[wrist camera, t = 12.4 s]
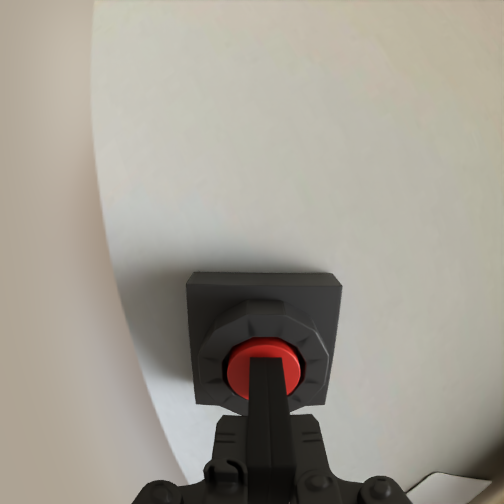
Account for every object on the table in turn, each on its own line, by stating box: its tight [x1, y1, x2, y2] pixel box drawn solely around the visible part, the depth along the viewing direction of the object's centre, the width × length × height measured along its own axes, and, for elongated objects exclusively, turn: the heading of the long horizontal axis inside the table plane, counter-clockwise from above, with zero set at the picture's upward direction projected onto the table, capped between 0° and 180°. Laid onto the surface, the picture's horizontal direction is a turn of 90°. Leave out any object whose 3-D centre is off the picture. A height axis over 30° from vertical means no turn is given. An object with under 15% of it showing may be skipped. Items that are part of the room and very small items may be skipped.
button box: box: [186, 272, 342, 416], centre depth 17 cm, size 8×8×4 cm
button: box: [227, 337, 300, 400], centre depth 15 cm, size 4×4×2 cm
